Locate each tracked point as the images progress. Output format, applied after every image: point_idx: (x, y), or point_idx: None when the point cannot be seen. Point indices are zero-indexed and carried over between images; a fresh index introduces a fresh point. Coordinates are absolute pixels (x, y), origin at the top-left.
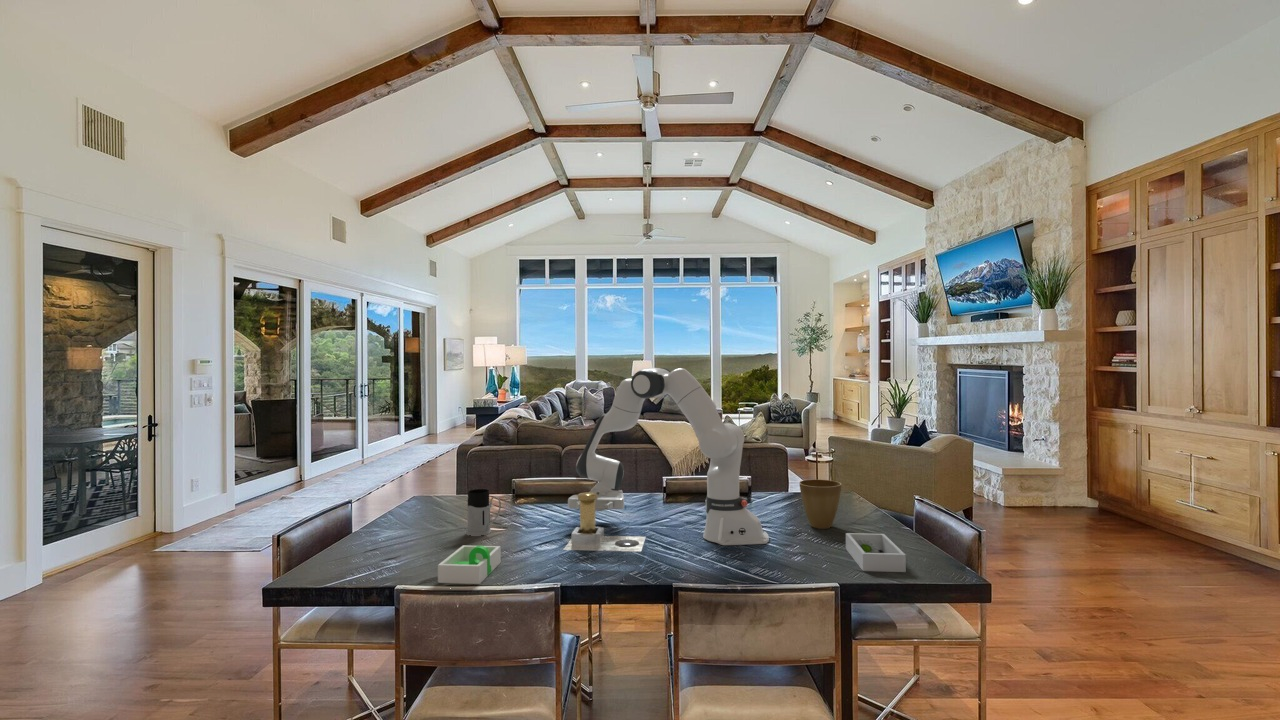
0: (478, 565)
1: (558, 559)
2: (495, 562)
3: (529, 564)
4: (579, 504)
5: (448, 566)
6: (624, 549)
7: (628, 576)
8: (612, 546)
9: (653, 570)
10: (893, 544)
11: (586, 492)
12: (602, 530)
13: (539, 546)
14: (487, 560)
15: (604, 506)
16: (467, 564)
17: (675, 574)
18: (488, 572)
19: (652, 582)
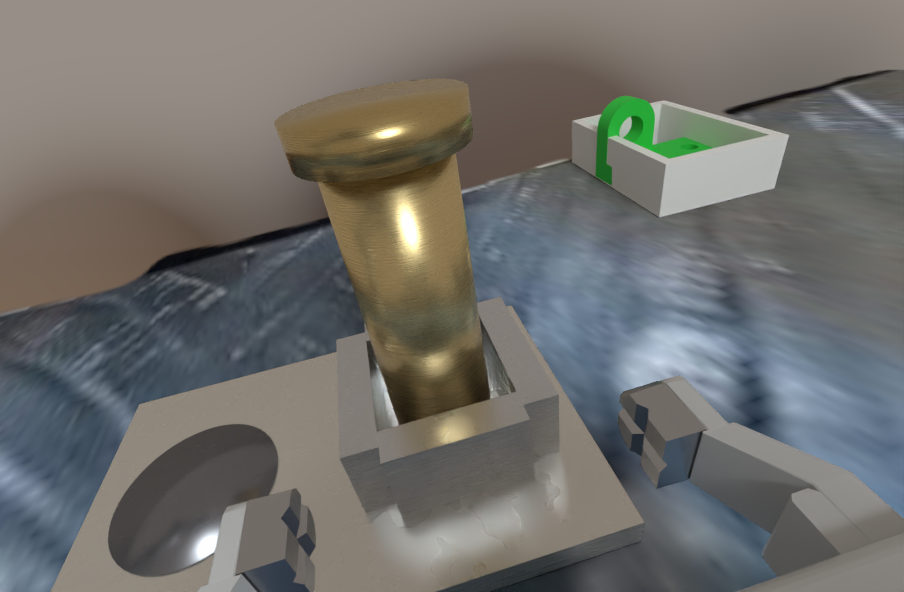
0: (577, 121)
1: (497, 286)
2: (631, 184)
3: (560, 237)
4: (658, 385)
5: None
6: (222, 398)
7: (230, 277)
8: (288, 412)
9: (140, 327)
10: None
11: (409, 111)
12: (339, 410)
13: (712, 355)
14: (597, 138)
15: (296, 494)
16: (671, 152)
17: (76, 328)
18: (598, 172)
19: (167, 275)
